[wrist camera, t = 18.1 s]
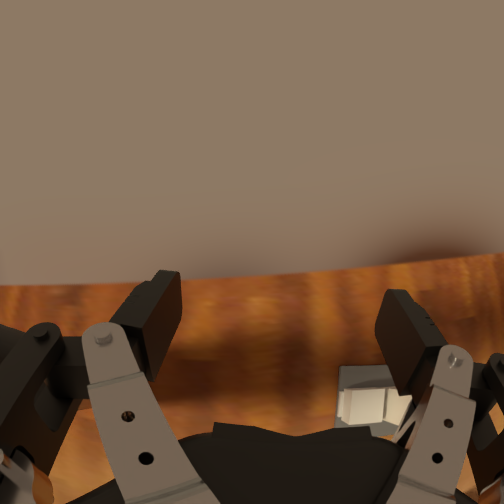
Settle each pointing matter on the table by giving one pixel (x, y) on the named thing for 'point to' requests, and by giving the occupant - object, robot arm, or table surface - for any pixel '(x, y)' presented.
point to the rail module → (394, 405)
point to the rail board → (366, 382)
